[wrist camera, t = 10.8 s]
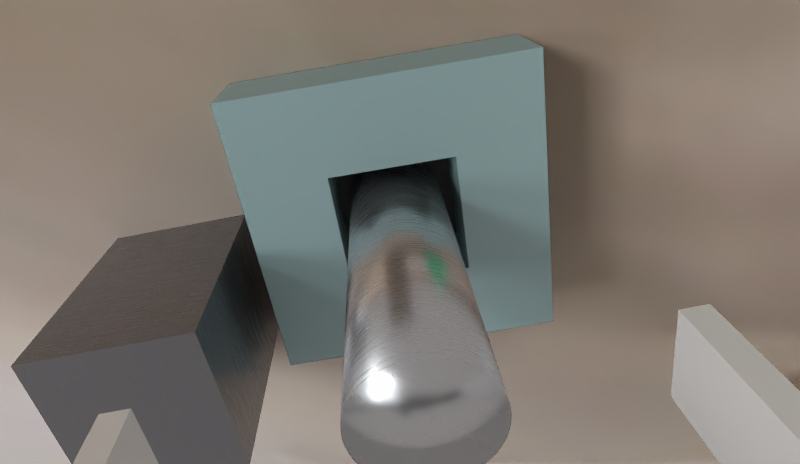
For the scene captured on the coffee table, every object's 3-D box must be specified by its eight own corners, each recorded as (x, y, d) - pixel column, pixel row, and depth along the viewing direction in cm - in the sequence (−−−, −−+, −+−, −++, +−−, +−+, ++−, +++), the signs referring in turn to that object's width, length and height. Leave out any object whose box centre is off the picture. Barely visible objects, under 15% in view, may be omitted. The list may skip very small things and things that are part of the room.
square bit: (164, 341, 29) (89, 492, 21) (118, 238, 26) (11, 366, 18) (280, 320, 29) (250, 463, 21) (245, 214, 26) (194, 332, 18)
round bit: (360, 239, 27) (358, 496, 14) (343, 159, 25) (323, 373, 12) (443, 225, 27) (516, 471, 14) (433, 145, 25) (505, 344, 12)
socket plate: (297, 319, 29) (290, 365, 26) (230, 83, 23) (210, 104, 20) (531, 280, 29) (553, 321, 25) (518, 34, 23) (542, 47, 20)
